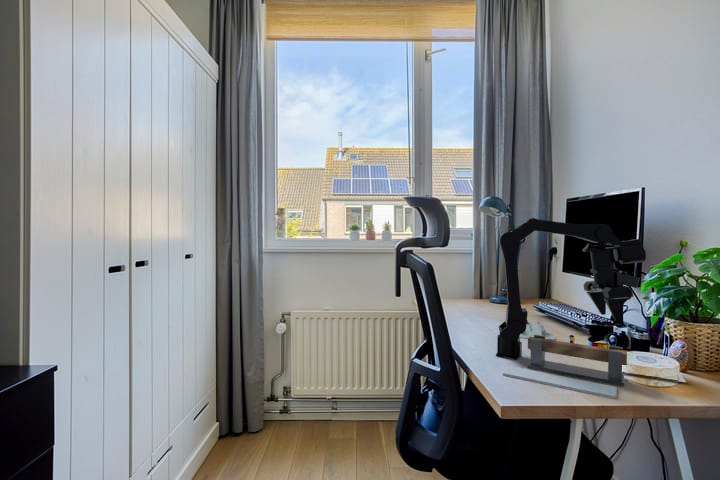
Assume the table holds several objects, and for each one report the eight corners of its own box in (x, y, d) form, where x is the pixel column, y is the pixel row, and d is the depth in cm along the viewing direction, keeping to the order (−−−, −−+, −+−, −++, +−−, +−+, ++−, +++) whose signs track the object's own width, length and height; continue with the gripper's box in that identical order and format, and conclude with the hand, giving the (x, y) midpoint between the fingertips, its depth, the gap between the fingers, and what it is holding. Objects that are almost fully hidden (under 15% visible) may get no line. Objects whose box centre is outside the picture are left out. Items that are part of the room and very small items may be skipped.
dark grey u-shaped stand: (527, 368, 111) (528, 339, 111) (532, 361, 116) (533, 333, 116) (624, 386, 98) (624, 353, 97) (624, 378, 103) (624, 347, 103)
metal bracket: (507, 316, 155) (547, 318, 152) (506, 329, 157) (545, 331, 154) (513, 335, 142) (557, 337, 138) (512, 348, 143) (555, 351, 140)
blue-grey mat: (502, 375, 105) (502, 372, 105) (509, 367, 111) (509, 365, 111) (616, 399, 90) (616, 396, 90) (616, 389, 96) (616, 386, 96)
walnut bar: (527, 349, 113) (527, 338, 113) (529, 346, 115) (530, 336, 115) (626, 365, 99) (627, 354, 99) (626, 362, 101) (627, 351, 101)
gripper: (650, 264, 103) (658, 322, 103) (618, 260, 121) (624, 309, 121) (605, 269, 105) (613, 325, 105) (580, 264, 123) (586, 312, 123)
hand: (610, 317), depth 113 cm, fingers open, 9 cm apart
